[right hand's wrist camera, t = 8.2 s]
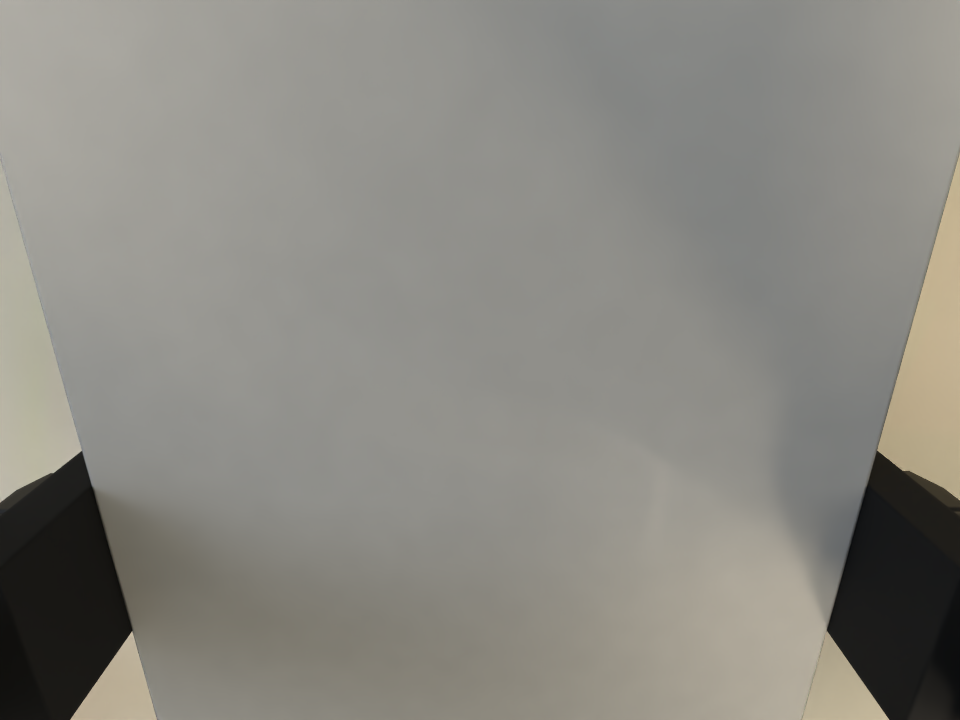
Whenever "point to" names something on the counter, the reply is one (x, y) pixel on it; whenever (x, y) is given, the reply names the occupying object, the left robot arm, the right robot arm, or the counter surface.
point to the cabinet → (479, 334)
